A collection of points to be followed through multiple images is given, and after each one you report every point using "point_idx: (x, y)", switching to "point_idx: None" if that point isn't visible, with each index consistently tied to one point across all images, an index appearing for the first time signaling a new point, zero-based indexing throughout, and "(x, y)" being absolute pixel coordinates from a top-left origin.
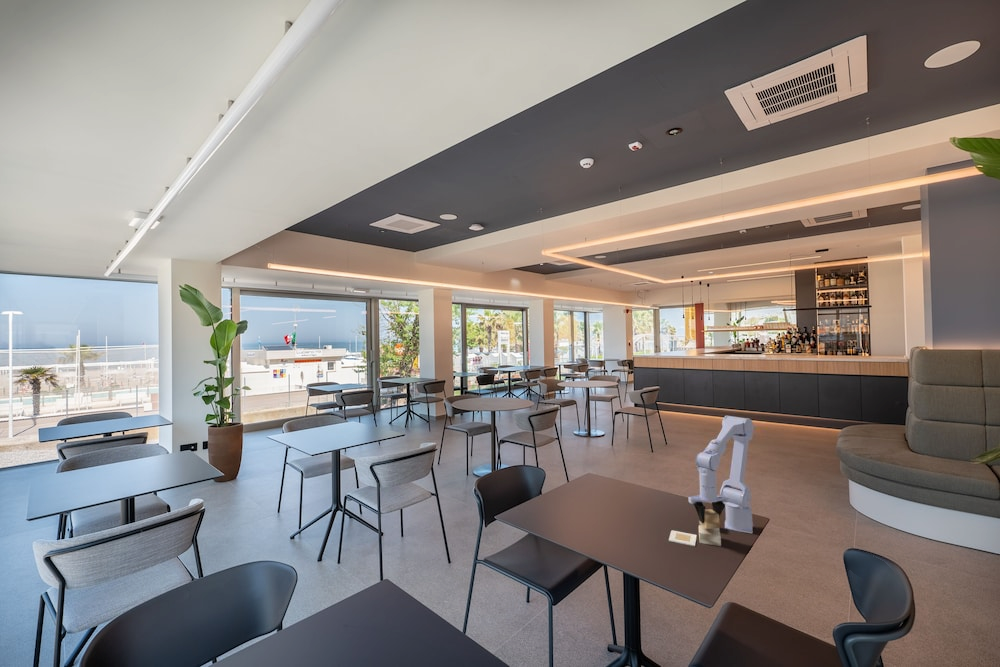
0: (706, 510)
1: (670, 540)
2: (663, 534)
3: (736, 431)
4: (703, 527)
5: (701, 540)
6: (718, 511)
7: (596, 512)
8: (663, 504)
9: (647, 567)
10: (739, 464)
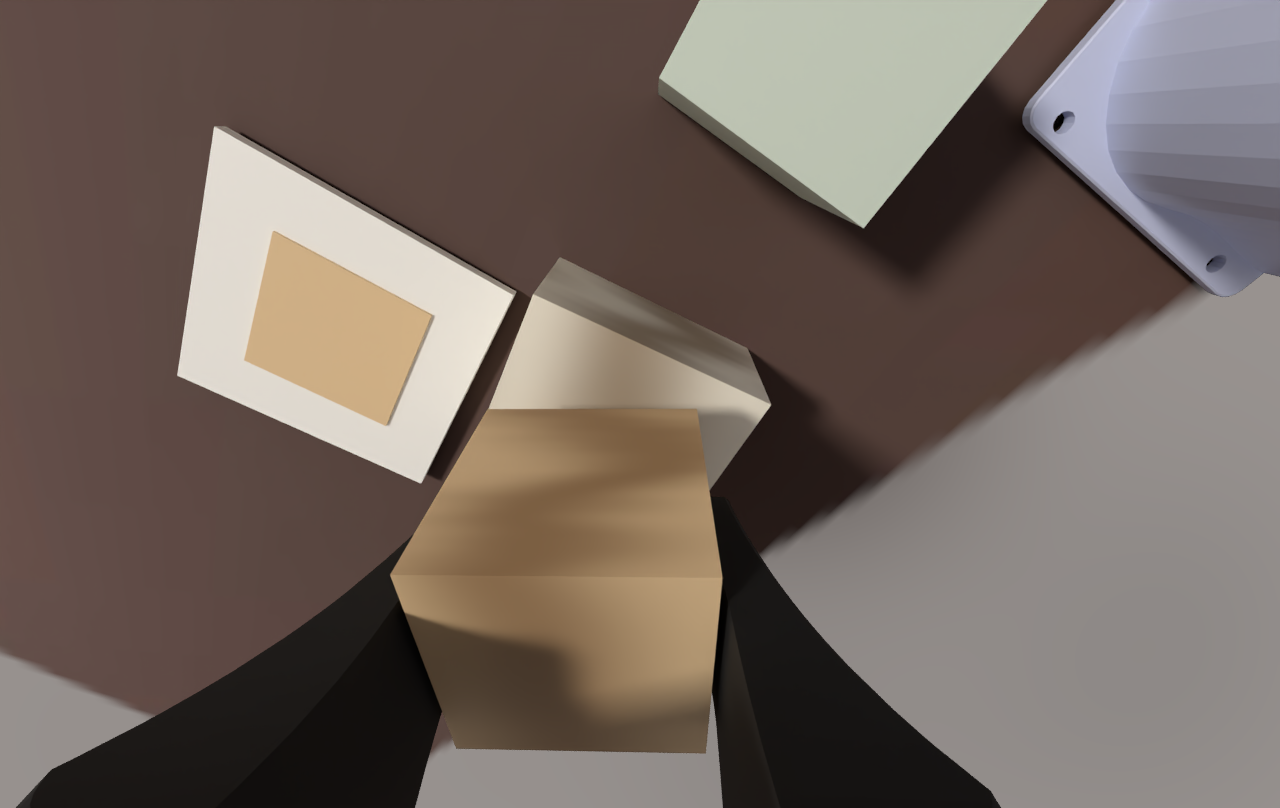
0: (560, 619)
1: (198, 382)
2: (127, 198)
3: None
4: (568, 374)
5: None
6: (722, 791)
7: None
8: None
9: (59, 642)
10: None
